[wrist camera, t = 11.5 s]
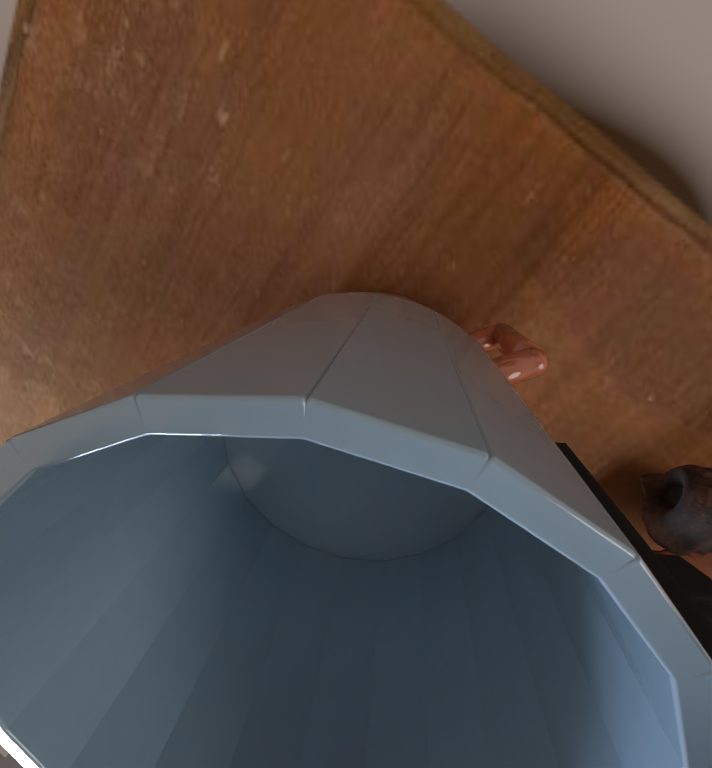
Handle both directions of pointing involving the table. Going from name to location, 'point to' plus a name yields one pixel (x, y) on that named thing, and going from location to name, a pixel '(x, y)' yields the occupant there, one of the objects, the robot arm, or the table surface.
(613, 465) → the table surface
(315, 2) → the table surface
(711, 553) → the pottery mug
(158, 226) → the table surface
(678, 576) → the robot arm
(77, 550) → the light blue round container
